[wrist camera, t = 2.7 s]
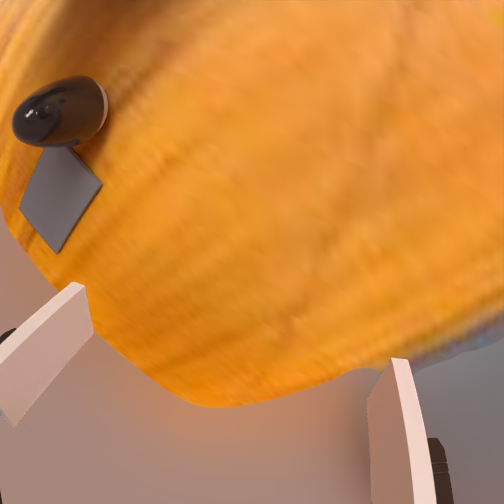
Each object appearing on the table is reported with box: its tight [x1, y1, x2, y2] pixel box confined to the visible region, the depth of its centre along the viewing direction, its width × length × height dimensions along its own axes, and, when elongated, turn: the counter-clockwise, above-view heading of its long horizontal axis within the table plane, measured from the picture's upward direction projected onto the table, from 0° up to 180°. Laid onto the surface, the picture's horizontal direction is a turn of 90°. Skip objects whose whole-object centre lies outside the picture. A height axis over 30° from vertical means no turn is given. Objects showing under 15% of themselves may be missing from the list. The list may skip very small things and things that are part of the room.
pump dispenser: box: [12, 75, 108, 148], centre depth 30 cm, size 10×10×15 cm
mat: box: [19, 147, 103, 254], centre depth 45 cm, size 13×20×1 cm, turn 132°
